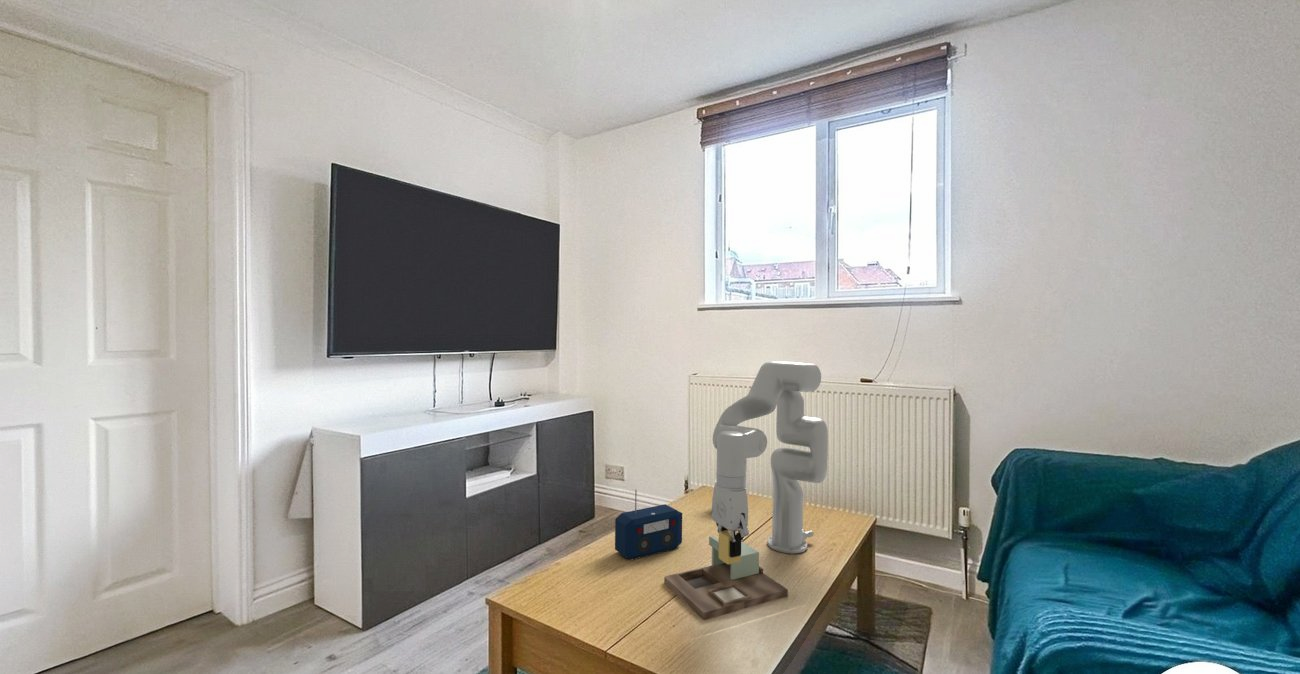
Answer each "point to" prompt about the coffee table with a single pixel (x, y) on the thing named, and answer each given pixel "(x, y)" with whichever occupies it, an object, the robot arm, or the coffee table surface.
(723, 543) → the block
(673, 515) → the radio
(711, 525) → the coffee table surface
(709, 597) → the puzzle board
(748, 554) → the cover
